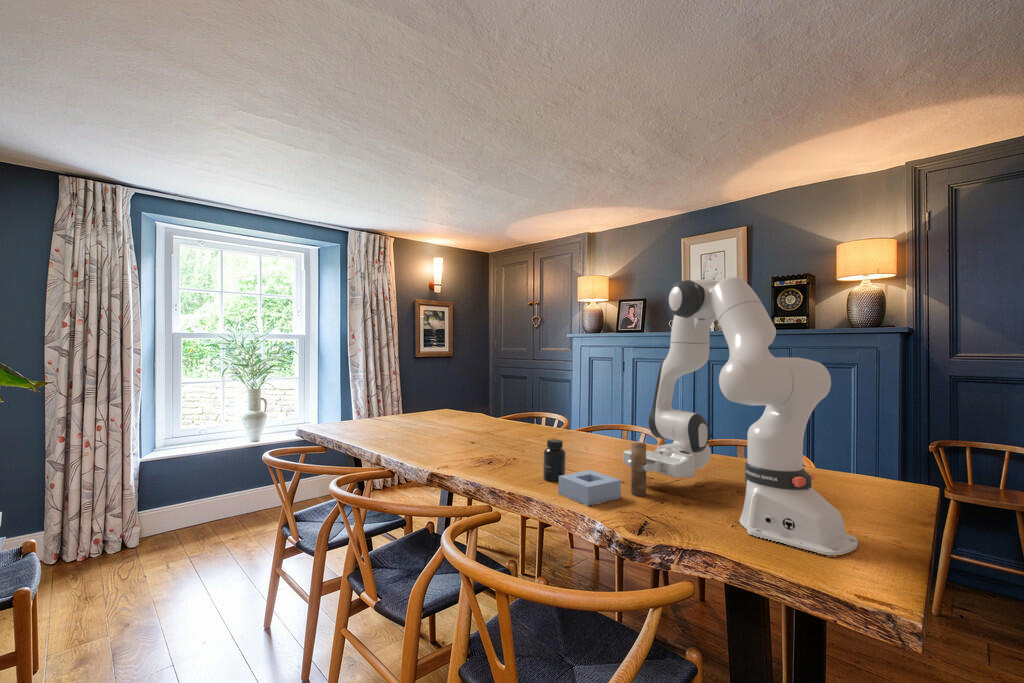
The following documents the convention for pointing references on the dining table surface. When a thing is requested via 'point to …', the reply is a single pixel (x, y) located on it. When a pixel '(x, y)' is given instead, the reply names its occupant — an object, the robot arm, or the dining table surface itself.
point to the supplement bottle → (554, 460)
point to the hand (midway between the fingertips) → (636, 465)
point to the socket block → (589, 487)
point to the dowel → (638, 469)
